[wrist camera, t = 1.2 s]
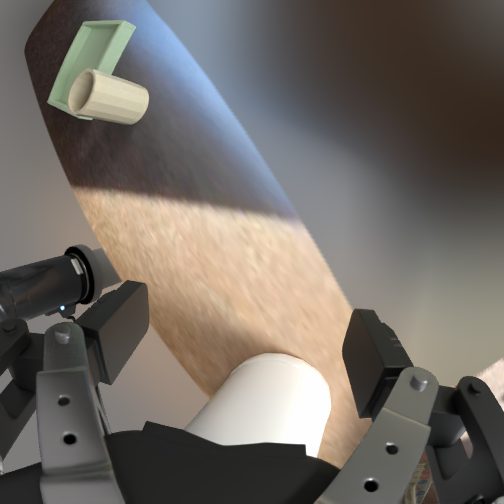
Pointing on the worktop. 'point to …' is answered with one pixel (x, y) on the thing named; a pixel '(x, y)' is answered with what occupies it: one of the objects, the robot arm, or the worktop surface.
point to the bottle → (267, 405)
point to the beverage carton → (418, 483)
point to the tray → (90, 55)
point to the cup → (107, 98)
